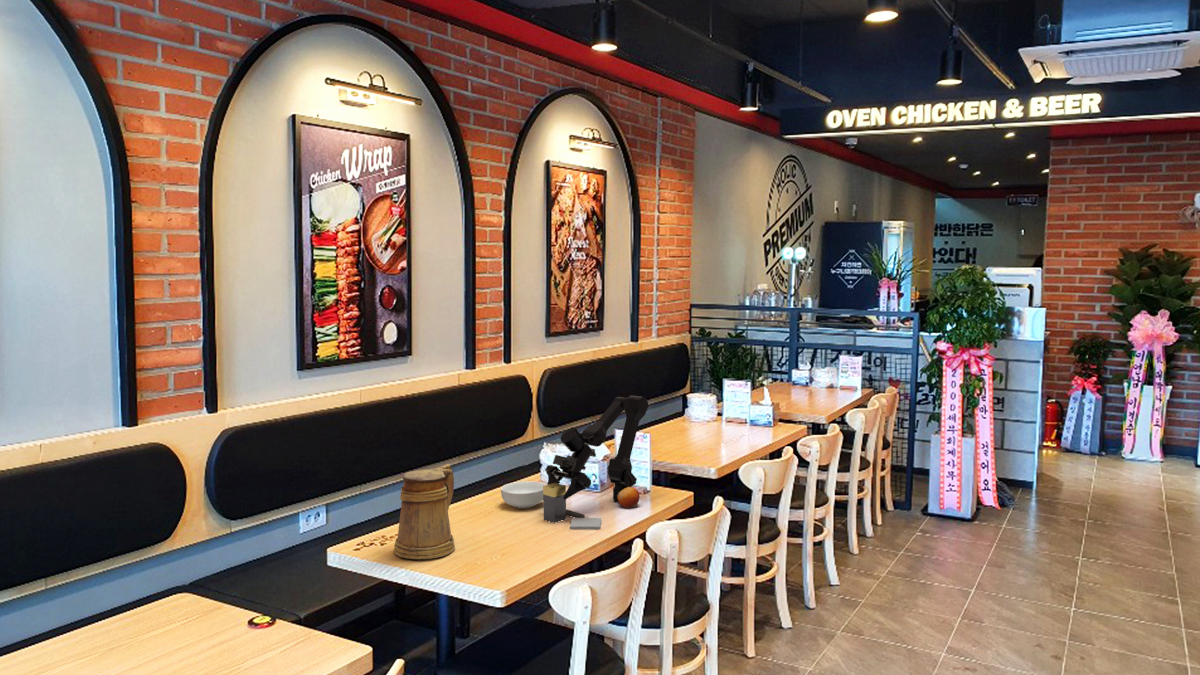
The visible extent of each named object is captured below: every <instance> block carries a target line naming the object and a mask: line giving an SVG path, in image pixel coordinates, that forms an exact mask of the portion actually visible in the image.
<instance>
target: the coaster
mask: <svg viewBox="0 0 1200 675" xmlns="http://www.w3.org/2000/svg"><path fill="white" fill-rule="evenodd" d="M601 525H602V517H585V518H574V517H571V520H570V525H569V530H570V529H600V530H601V527H602V526H601ZM600 526H601V527H600Z"/></svg>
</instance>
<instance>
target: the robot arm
mask: <svg viewBox="0 0 1200 675" xmlns="http://www.w3.org/2000/svg"><path fill="white" fill-rule="evenodd" d="M648 408H649V401H648V399H647V397H644V396H638V395H632V394H631V395H629V396H627V397H622V396H617V397H615V398H614V399H613V401H612V403H611V404H610V405H609V406H608V408H607V409H606V410H605V411H604V412H603V413H602V415H601V416H600V417H599V418H598V419H597V421H595V422H593V423H591V424H590V425H588V426H587V427H585V428H584V430H583V431H582V432H579V431H578V429H577V427H574V426H573V427H570V429H567V430H566V431H564V432H563V433H562V434H561V436H560V442H562V444H563V445H564V446H565V447H566V448H567V449H568V451H570V452H572V454H571V455H567V456H564V455H558V454H554V457H553V462H552V464H553V465H552V464H549V465H546V468H544V471H545V473H546V476H547V477H548V480H547V484H546V485H548V484H552V483H558V484H561V481H562V480H563V478H564V479H568V480H570V484H569V486H568V488H566V489H567V490H566V493H565V495H564V497H563V498H564V499H565V500H566V501H567V499H569V498H570V497H572V496H574V495H575V494H578V493H579V492H581V491H583V490H586V489H589V488H590V486H592V480H591V478H590V477H589V476H588V475H587V474H586V473H585V472H583V471H585V470H586V469H587V467H586V464H587V462H588V461H589V458H590V457H593V458H596V457H597V453H596V449H595V448H592V447H596V448H597V447H600V446H602V444H603V443H604V441H605V439H606V438H607V432H608V431H609V429H610V428H611V426H612V425H613V424H614V423H615V422H616V421H617V419H618V418H619V417H620V416H621V414H622V413H623V412H624V414H625V422H624V426H623V430H622V434H621V438H620V442H619V446H618V449H617V454H616V456H615V457H614V458H610V459H609V463H608V466H607V468H606V469H607V475H608V477H609V480H610V481H609V482H610V483H611V484H614V486H613V488H612V495H613V497H612V499H613V500H614V501H613V502H615V503H619V501H618V499H617V496H618V494H619V492H620V491H622V490H623V489H625V488H627V487H633V486H635V485H636V484H637V481H638V480H637V477H636V476H635V475H634V474H633V473H632V472H633V471H632V469H633V466H632V461H631V456H632V453H633V452H632V451H633V447H634V444H635V440H636V436H637V432H638V428H639V424H640V421H641V420H642V419H643V418H644V416H646V413H647V411H648ZM590 446H591V447H590ZM558 466H559V467H558ZM582 470H583V471H582Z"/></svg>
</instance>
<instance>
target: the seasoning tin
mask: <svg viewBox="0 0 1200 675" xmlns="http://www.w3.org/2000/svg"><path fill="white" fill-rule="evenodd" d="M547 484H548V483H547ZM547 484H546V485H544V486H543V501H542V502H543V503H542V504H543V521H545V520H547V521H546V522H548V521H550V522H549V523H552V522H554V523H553V524H556V523H555V522H557V523H559V522H558V521H561V520H564V521H566V520H567V515H566V509H567V499H566V500H565V499H564V498H563V497H564V495H565V493H566V491H567V490H566V489H567V486H566V485H565V484H562V483H559V484H558V483H552V484H548V485H547ZM565 519H566V520H565ZM561 522H562V521H561Z"/></svg>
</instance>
